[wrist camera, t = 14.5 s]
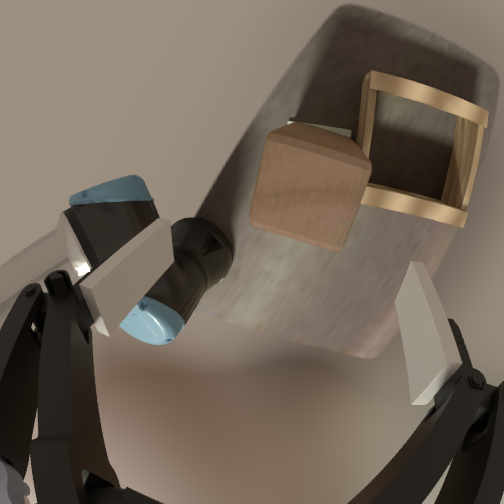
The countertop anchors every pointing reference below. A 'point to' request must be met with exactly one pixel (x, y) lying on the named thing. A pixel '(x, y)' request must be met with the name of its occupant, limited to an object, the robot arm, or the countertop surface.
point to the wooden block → (309, 185)
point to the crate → (462, 154)
